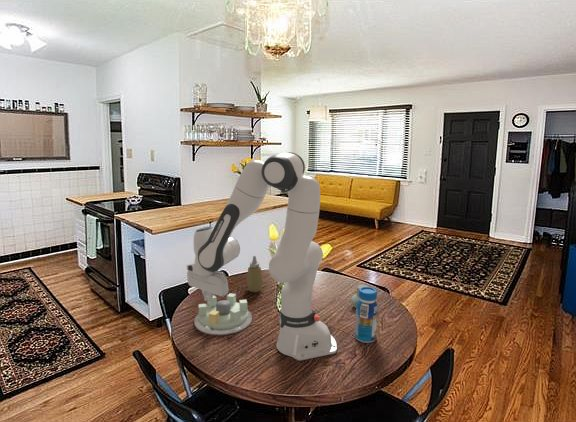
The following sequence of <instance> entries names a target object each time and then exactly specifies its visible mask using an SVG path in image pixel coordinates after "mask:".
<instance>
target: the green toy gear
mask: <svg viewBox="0 0 576 422" xmlns="http://www.w3.org/2000/svg"><path fill="white" fill-rule="evenodd" d="M228 293H229V294H228ZM228 293H227V294H226V299H224V300H219V301H217V300H218V299H217V298H218V297H217V295H215V294H214V295H213V301H211V302H208V301H206V303H198V314H197V315H198V320H199V323H200V324H201V325H202V326H204V327H206V326H207V325H208V326H212V329H216V330H223V329H230V328H234V327H237V326H239V325H241V324H243V323H244V322H245V321H246V320H247V318H248V311H249V310H248V301H247V299H239V302H237V294H236V293H232V292H231V293H230V292H228Z"/></svg>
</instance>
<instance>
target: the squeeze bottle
mask: <svg viewBox="0 0 576 422" xmlns="http://www.w3.org/2000/svg"><path fill="white" fill-rule="evenodd" d="M246 286H247V289H248V291H249V292H250V293H258V292H260V291H261V289H262V286H263V275H262V268H261V266H260V263H259V261H257V257H256V255H253V256H252V261H251V262H250V263H249V267H248V268H247V277H246Z"/></svg>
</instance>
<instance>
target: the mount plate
mask: <svg viewBox="0 0 576 422" xmlns="http://www.w3.org/2000/svg"><path fill="white" fill-rule="evenodd" d="M252 321H253V316H252V313H251V312H250V310H248V318H247V320H246V321H245V322H244V323H243V324H241V325H239V326H237V327H234V328H230V329H223V330H216V329H212V326H208V325H207V326H206V327H204V326H202V325H201V324H200V323H199V320H198V314H196V315H195V318H194V322H193V323H194V327H195V329H196V330H198V331H199V332H200V333H203V334H206V335H211V336H227V335H233V334H236V333H239V332H242V331H243V330H246V329H247V328H248V327H249V326H250V325H251V324H252Z"/></svg>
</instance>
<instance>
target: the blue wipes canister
mask: <svg viewBox="0 0 576 422" xmlns="http://www.w3.org/2000/svg"><path fill="white" fill-rule="evenodd" d="M377 297H378V291H377V289H375V288H374V287H372V286H371V287H370V286H369V287H362V288H360V289H359V298H360V299H359V300H358V302H357V304H356V307H357V308H356V309H355V326H354V338H355V339H356V340H357V341H358V342H361V343H365V344H366V343H367V344H371V343H373V342H375V341H376V338H377V326H378V325H377V324H378V317H379V312H378V310H379V305H378V303H377V301H376V300H377V299H378V298H377Z"/></svg>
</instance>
